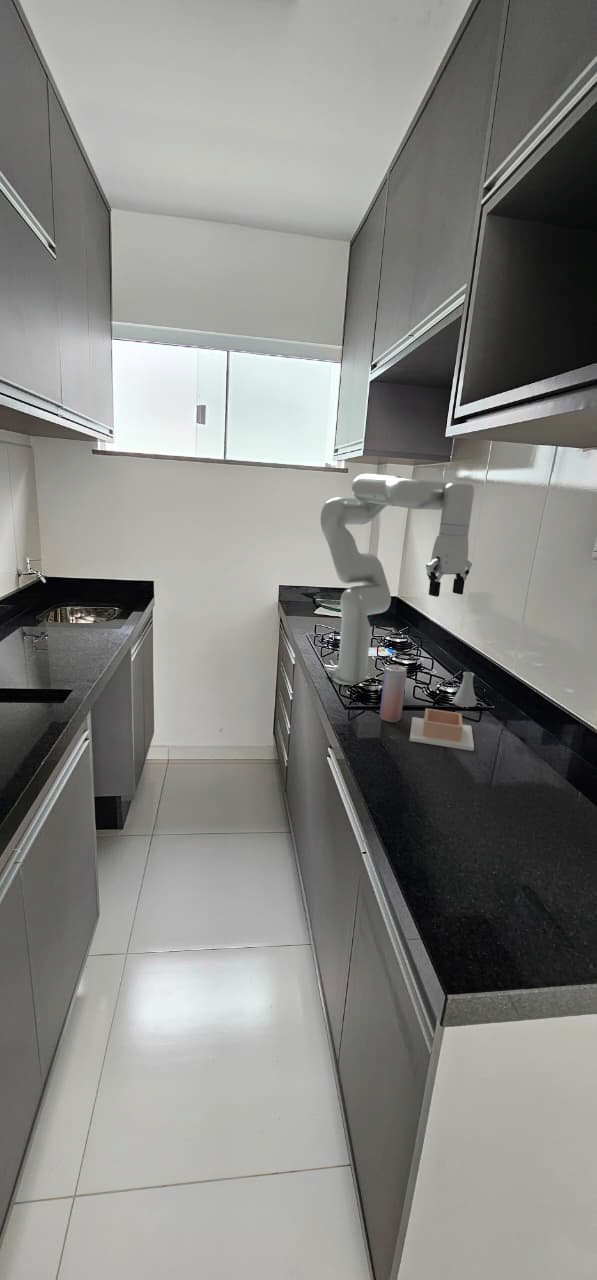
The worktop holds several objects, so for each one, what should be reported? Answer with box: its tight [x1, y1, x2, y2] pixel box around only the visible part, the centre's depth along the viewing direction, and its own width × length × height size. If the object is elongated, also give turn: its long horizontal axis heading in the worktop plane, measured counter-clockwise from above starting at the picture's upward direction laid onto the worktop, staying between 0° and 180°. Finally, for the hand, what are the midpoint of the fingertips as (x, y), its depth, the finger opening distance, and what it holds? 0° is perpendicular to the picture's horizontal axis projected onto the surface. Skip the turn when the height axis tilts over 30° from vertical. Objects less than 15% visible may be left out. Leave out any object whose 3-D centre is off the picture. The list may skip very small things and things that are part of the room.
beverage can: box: [379, 664, 407, 723], centre depth 161 cm, size 6×6×15 cm
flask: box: [451, 671, 478, 709], centre depth 176 cm, size 7×7×10 cm
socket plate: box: [409, 707, 475, 751], centre depth 154 cm, size 16×14×5 cm
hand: (445, 594), depth 158 cm, fingers open, 9 cm apart
